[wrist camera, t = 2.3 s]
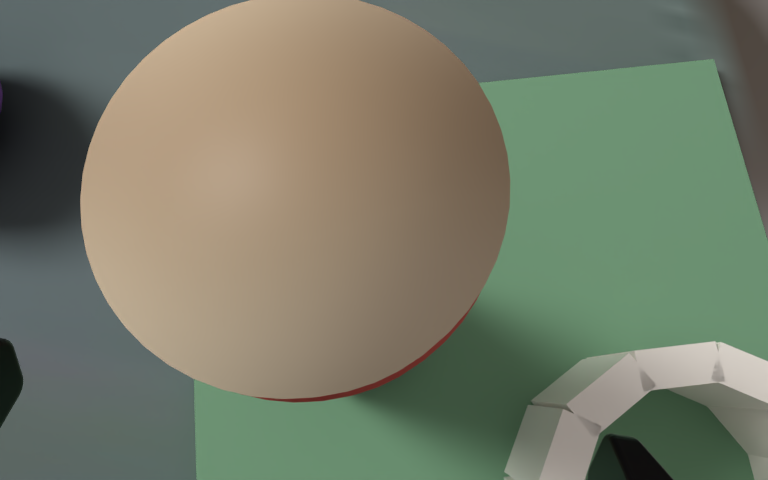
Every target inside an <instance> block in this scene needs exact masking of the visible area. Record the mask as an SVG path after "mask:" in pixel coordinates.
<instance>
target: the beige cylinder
mask: <svg viewBox="0 0 768 480" xmlns="http://www.w3.org/2000/svg"><path fill="white" fill-rule="evenodd" d="M80 206H81V227H82V232H83V237H84V243H85V248H86V253H87V256H88V259H89V262H90V265H91V268H92V271H93V274H94V276H95V279H96V281H97V283H98V285H99V287H100V289H101V291H102V293H103V295H104V297H105V298H106V300H107V302H108V304H109V305H110V307H111V308H112V309H113V311H114V312H115V314H116V315H117V316H118V318H119V319H120V321H121V322H122V323H123V325H124V326H125V327H126V328H127V329H128V330H129V331H130V332H131V333H132V334H133V335H134V336H135V337H136V338H137V339H138V341H139V342H140V343H141V344H142V345H143V346H144V347H146V348H147V349H148V350H150V351H151V352H152V353H153V354H155V355H156V356H157V357H159V358H160V359H161V360H163V361H164V362H165V363H167V364H168V365H170V366H172V367H173V368H175V369H177V370H179V371H180V372H182V373H184V374H186V375H188V376H189V377H191V378H193V379H195V380H198V381H201V382H203V383H206V384H208V385H211V386H214V387H216V388H219V389H222V390H226V391H230V392H235V393H239V394H242V395H247V396H251V397H255V398H260V399H264V400H271V401H283V402H294V403H295V402H316V401H326V400H331V399H337V398H342V397H348V396H352V395H356V394H359V393H362V392H365V391H368V390H371V389H374V388H377V387H380V386H382V385H384V384H386V383H388V382H390V381H392V380H394V379H396V378H398V377H400V376H401V375H403V374H404V373H406V372H407V371H409V370H410V369H412V368H413V367H415V366H416V365H418V364H419V363H421V362H422V361H424V360H425V359H426V358H427V357H428V356H429V355H431V354H432V353H433V352H434V351H435V350H436V349H437V348H439V347H440V346H441V345H442V344H443V343H444V342H445V341H446V340H447V339H448V338H449V337H450V336H451V334H452V333H453V332H454V331H455V330H456V329H457V327H458V326H459V325H460V324H461V323H462V322H463V320H464V319H465V317H466V316H467V314H468V313H469V311H470V310H471V308H472V306H473V305H474V303H475V302H476V300H477V298H478V296H479V294H480V292H481V290H482V289H483V287H484V286H485V284H486V282H487V280H488V277H489V275H490V273H491V271H492V269H493V267H494V265H495V263H496V261H497V258H498V255H499V251H500V248H501V245H502V242H503V239H504V236H505V231H506V225H507V220H508V214H509V208H510V172H509V163H508V154H507V150H506V146H505V142H504V139H503V135H502V131H501V128H500V125H499V123H498V120H497V118H496V115H495V113H494V110H493V108H492V106H491V104H490V102H489V100H488V99H487V97H486V95H485V93H484V92H483V90H482V88H481V86H480V85H479V83H478V82H477V81H476V79H475V78H474V77H473V75H472V74H471V73H470V71H469V70H468V69H467V67H466V66H465V65H464V64H463V63H462V62H461V61H460V60H459V59H458V58H457V57H456V56H455V55H454V54H453V53H452V52H451V51H450V50H449V49H448V48H447V47H446V46H445V45H444V44H443V43H441V42H440V41H439V40H438V39H436V38H435V37H434V36H432V35H431V34H430V33H429V32H427V31H426V30H424V29H423V28H421V27H419V26H418V25H416V24H414V23H413V22H411V21H409V20H408V19H406V18H404V17H402V16H399V15H397V14H395V13H393V12H390V11H388V10H386V9H384V8H381V7H378V6H375V5H372V4H368V3H365V2H362V1H359V0H250V1H246V2H243V3H239V4H235V5H232V6H229V7H226V8H224V9H221V10H219V11H216V12H214V13H211V14H209V15H206V16H205V17H203V18H201V19H199V20H197V21H195V22H193V23H191V24H189V25H188V26H186V27H184V28H183V29H181V30H180V31H178V32H177V33H175V34H174V35H172V36H171V37H169V38H168V39H166V40H165V41H163V42H162V43H161V44H160V45H159V46H158V47H157V48H155V49H154V50H153V51H152V52H151V53H150V54H148V55H147V56H146V57H145V58H144V59H143V60H142V61H141V62H140V63H139V64H138V65H137V66H136V68H135V69H134V70H133V71H132V72H131V73H130V74H129V75H128V76H127V77H126V79H125V80H124V82H123V83H122V84H121V86H120V87H119V89H118V90H117V91H116V93H115V94H114V96H113V97H112V98H111V100H110V102H109V104H108V106H107V107H106V109H105V111H104V113H103V115H102V117H101V119H100V120H99V122H98V125H97V127H96V130H95V133H94V135H93V138H92V140H91V143H90V146H89V149H88V153H87V157H86V162H85V166H84V170H83V176H82V186H81V197H80Z"/></svg>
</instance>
